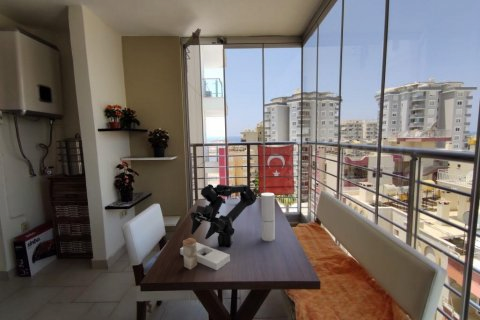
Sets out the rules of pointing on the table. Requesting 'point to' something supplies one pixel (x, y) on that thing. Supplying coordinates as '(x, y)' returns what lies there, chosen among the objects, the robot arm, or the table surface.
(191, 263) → the wooden peg
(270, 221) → the cylindrical container
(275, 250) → the table surface
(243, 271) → the table surface
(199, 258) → the white slotted block
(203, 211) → the robot arm
